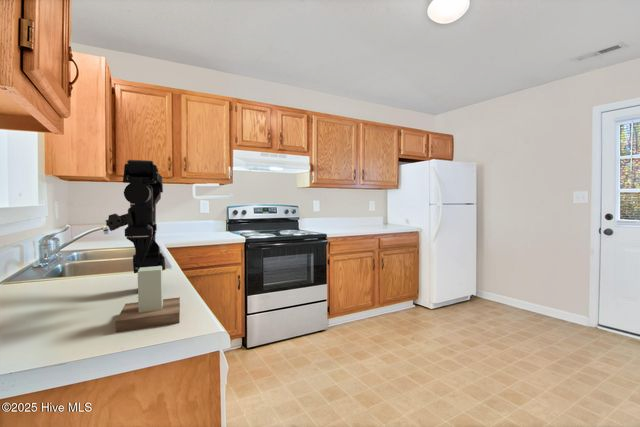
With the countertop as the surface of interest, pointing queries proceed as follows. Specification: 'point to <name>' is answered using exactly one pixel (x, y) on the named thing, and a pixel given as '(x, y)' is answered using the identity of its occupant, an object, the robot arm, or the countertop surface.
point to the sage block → (150, 289)
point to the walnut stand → (148, 316)
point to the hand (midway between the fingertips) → (142, 258)
